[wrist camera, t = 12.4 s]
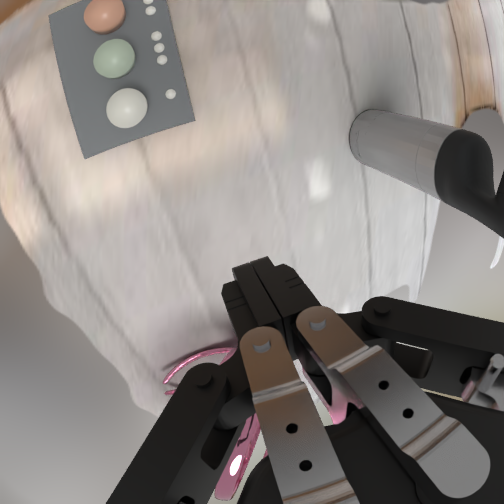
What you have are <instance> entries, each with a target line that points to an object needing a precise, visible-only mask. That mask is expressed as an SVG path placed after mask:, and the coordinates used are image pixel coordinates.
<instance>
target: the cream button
mask: <svg viewBox="0 0 504 504" xmlns="http://www.w3.org/2000/svg"><path fill="white" fill-rule="evenodd" d="M147 109H148V103H147V99H146V97H145V96H144V95H143V94H142V93H141V92H140V91H138V90H136V89H132V88H124V89H121V90H119V91H117V92H115V93H114V94H113V95H112V96H111V97H110V99H109V101H108V103H107V107H106V113H107V117H108V119H109V120H110V122H111V123H112V124H113V125H115V126H117V127H119V128H130V127H133V126H135V125H137V124H138V123H139V122H140V121H141V120H142V119H143V118H144V116H145V115H146V112H147Z"/></svg>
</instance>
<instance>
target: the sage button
mask: <svg viewBox="0 0 504 504" xmlns="http://www.w3.org/2000/svg"><path fill="white" fill-rule="evenodd" d="M135 62H136V56H135V52H134V50H133V48H132V46H131V45H130V44H129V43H128V42H127V41H125V40H122V39H112V40H109V41H106V42H105V43H103V44H102V45H101V46H100V47H99V48H98V49H97V51H96V53H95V55H94V59H93V63H94V67H95V69H96V71H97V72H98V73H99V74H100V75H102V76H104V77H107V78H109V79H119V78H122V77H124V76H126V75H127V74H128V73H130V71H131V70H132V69H133V67H134V65H135Z"/></svg>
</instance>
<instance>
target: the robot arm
mask: <svg viewBox="0 0 504 504" xmlns="http://www.w3.org/2000/svg"><path fill="white" fill-rule="evenodd" d="M350 147H351V150H352V153H353V155H354V156H355V158H356V159H357V160H358V161H359V162H361V163H362V164H364V165H367V166H369V167H371V168H374V169H376V170H378V171H380V172H382V173H385V174H387V175H389V176H391V177H394V178H396V179H398V180H400V181H402V182H404V183H407V184H409V185H411V186H413V187H415V188H417V189H419V190H421V191H423V192H425V193H427V194H429V195H431V196H433V197H435V198H437V199H439V200H441V201H443V202H445V203H446V204H448V205H450V206H452V207H454V208H456V209H458V210H460V211H462V212H464V213H466V214H468V215H469V216H471V217H473V218H475V219H476V220H478V221H479V222H481V223H483V224H484V225H486V226H487V227H488V228H490V229H491V230H493V231H494V232H496V233H497V234H498V235H500V236H501V237H502V238H504V172H503V175H502V178H501V181H500V184H499V187H498V190H497V193H496V195H495V190H494V182H493V159H492V154H491V150H490V148H489V146H488V144H487V142H486V141H485V140H484V138H482V137H481V136H480V135H478V134H476V133H473V132H470V131H466V130H463V129H460V128H456V127H453V126H449V125H445V124H441V123H437V122H433V121H429V120H425V119H420V118H416V117H411V116H406V115H402V114H397V113H392V112H386V111H380V110H374V109H372V110H367V111H364V112H363V113H361V114H360V115H359V116H358V117H357V118H356V119H355V121H354V123H353V125H352V128H351V131H350ZM232 272H233V275H234V279H235V281H232V282H229V283H226V284H224V285H223V289H222V293H221V294H222V297H223V300H224V303H225V306H226V309H227V312H228V315H229V318H230V321H231V323H232V326H233V329H234V331H235V334H236V337H237V339H238V347H237V349H236V351H235V353H234V354H233V355H232V356H231V357H230V358H229V359H228V360H227V361H225V362H224V363H222V364H221V365H217V364H214V363H202V364H198V365H196V366H194V367H192V368H191V369H190V370H189V371H188V372H187V373H186V374H185V376H184V377H183V379H182V381H181V382H180V384H179V386H178V387H177V389H176V390H175V392H174V394H173V395H172V397H171V399H170V400H169V402H168V404H167V405H166V407H165V408H164V410H163V412H162V413H161V415H160V417H159V418H158V420H157V422H156V423H155V425H154V426H153V428H152V430H151V431H150V433H149V435H148V436H147V438H146V440H145V441H144V443H143V444H142V446H141V448H140V449H139V451H138V452H137V454H136V456H135V458H134V459H133V461H132V462H131V464H130V466H129V467H128V469H127V471H126V472H125V474H124V475H123V477H122V478H121V480H120V482H119V483H118V485H117V486H116V488H115V490H114V491H113V493H112V494H111V496H110V498H109V499H108V501H107V502H106V504H207V503H208V501H209V499H210V497H211V495H212V493H213V491H214V489H215V487H216V485H217V483H218V481H219V479H220V477H221V475H222V473H223V471H224V469H225V467H226V465H227V463H228V460H229V458H230V456H231V454H232V452H233V450H234V448H235V446H236V443H237V441H238V439H239V437H240V435H241V433H242V430H243V428H244V426H245V423H246V419H248V418H249V417H251V416H252V415H253V414H255V413H256V414H257V418H258V421H259V425H260V428H261V431H262V435H263V438H264V441H265V445H266V448H267V452H268V455H267V456H266V457H264V458H263V459H262V460H261V461H260V462H259V463H258V464H257V465H256V466H255V468H254V469H253V470H252V472H251V473H250V475H249V477H248V478H247V481H246V483H245V485H244V488H243V490H242V493H241V495H240V498H239V500H238V502H237V504H504V323H503V322H498V321H493V320H489V319H484V318H479V317H475V316H470V315H466V314H461V313H457V312H452V311H447V310H443V309H438V308H434V307H429V306H425V305H420V304H416V303H412V302H407V301H403V300H398V299H394V298H389V297H384V296H380V297H374V298H371V299H369V300H368V301H366V302H365V303H364V305H363V307H362V311H359V312H353V313H346V314H338V313H336V312H335V311H334V310H332V309H331V308H328V307H325V306H322V305H321V304H320V303H319V301H318V300H317V299H316V297H315V296H314V295H313V293H312V292H311V291H310V289H309V288H308V287H307V286H306V284H304V282H303V280H302V279H301V278H300V277H299V275H298V274H297V273H296V271H295V270H294V269H293V268H291V267H289V266H287V265H285V264H281V265H278V266H274V265H273V263H272V262H271V260H270V259H269V257H268V256H266V257H263V258H260V259H257V260H254V261H251V262H250V263H246V264H243V265H240V266H237V267H234V268H232ZM396 341H397V342H400V343H404V344H408V345H412V346H416V347H421V348H425V349H428V350H423V349H418V348H415V347H410V346H407V345H403V344H399V343H396ZM296 359H299V361H300V363H301V364H302V368H303V374H304V376H305V378H306V379H307V381H308V382H309V383H310V385H311V386H312V388H313V389H314V391H315V392H316V394H317V395H318V397H319V398H320V400H321V401H322V402H323V404H324V405H325V407H326V408H327V410H328V412H329V413H330V416H331V419H332V421H333V424H334V425H330V426H323V423H322V421H321V418H320V417H319V414H318V412H317V409H316V407H315V405H314V402H313V400H312V398H311V395H310V393H309V391H308V388H307V386H306V384H305V383H304V382H302V381H301V379H300V377H299V375H298V372H297V370H296V368H295V365H294V363H293V361H294V360H296ZM421 388H424V389H427V390H431V391H435V392H439V393H443V394H448V395H452V396H457V397H461V398H462V399H463V401H464V402H463V401H459V400H455V399H451V398H448V397H444V396H441V395H437V394H434V393H429V392H424V391H423V390H422V389H421Z"/></svg>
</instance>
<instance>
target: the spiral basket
mask: <svg viewBox="0 0 504 504" xmlns="http://www.w3.org/2000/svg"><path fill="white" fill-rule="evenodd" d="M236 349H237V347H224V348H215V349H209V350H206V351H202V352H199V353H197V354H194V355H192V356H190V357H188V358H187V359H185V360H183V361H182V362H181V363H179V364H178V365H177V366H175V367H174V368H173V369H172V370H171V371H170V372H169V373H168V375H167V376H166V377H165V378H164V380H163V384H166V383H167V382H168V381H169V380H170V379H171V378H172V377H173V376H174V375H175V374H176V373H177V372H178V371H179V370H180V369H182V368H183V367H184V366H186V365H187V364H189V363H191V362H193V361H195V360H197V359H200V358H202V357H206V356H209V355H214V354H221V353H228V354H227V355H226V356H225V357H224V359H223V360H222V362H221V363H220V365H221V364H222V363H224V362H225V361H227V360H228V359H229V358H230V357H231V356H232V355H233V354H234V353H235V351H236ZM175 390H176V389H174V390H170V391H166V392H165V393H164V394H166V395H173V394H174V392H175ZM260 430H261V428H260V425H259V421H258V418H257V414H256V413H255V414H253V415H252V416H251V417H249V418H248V419H246V423H245V426H244V428H243V430H242V433H241V435H240V437H239V439H238V441H237V443H236V446H235V448H234V450H233V452H232V454H231V456H230V458H229V460H228V463H227V465H226V467H225V469H224V471H223V473H222V475H221V477H220V479H219V481H218V483H217V485H216V488H215V498H216V499H218V500H226V501H227V500H231V499H232V498H233V496H234V494H235V493H236V491H237V489H238V486H239V484H240V482H241V480H242V477H243V475H244V472H245V470H246V468H247V465H248V462H249V460H250V457H251V454H252V452H253V449H254V447H255V444H256V441H257V439H258V436H259V433H260ZM267 455H268V452H267V449H266V451H265V454H264V457H266V456H267ZM264 457H263V458H264Z"/></svg>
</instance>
